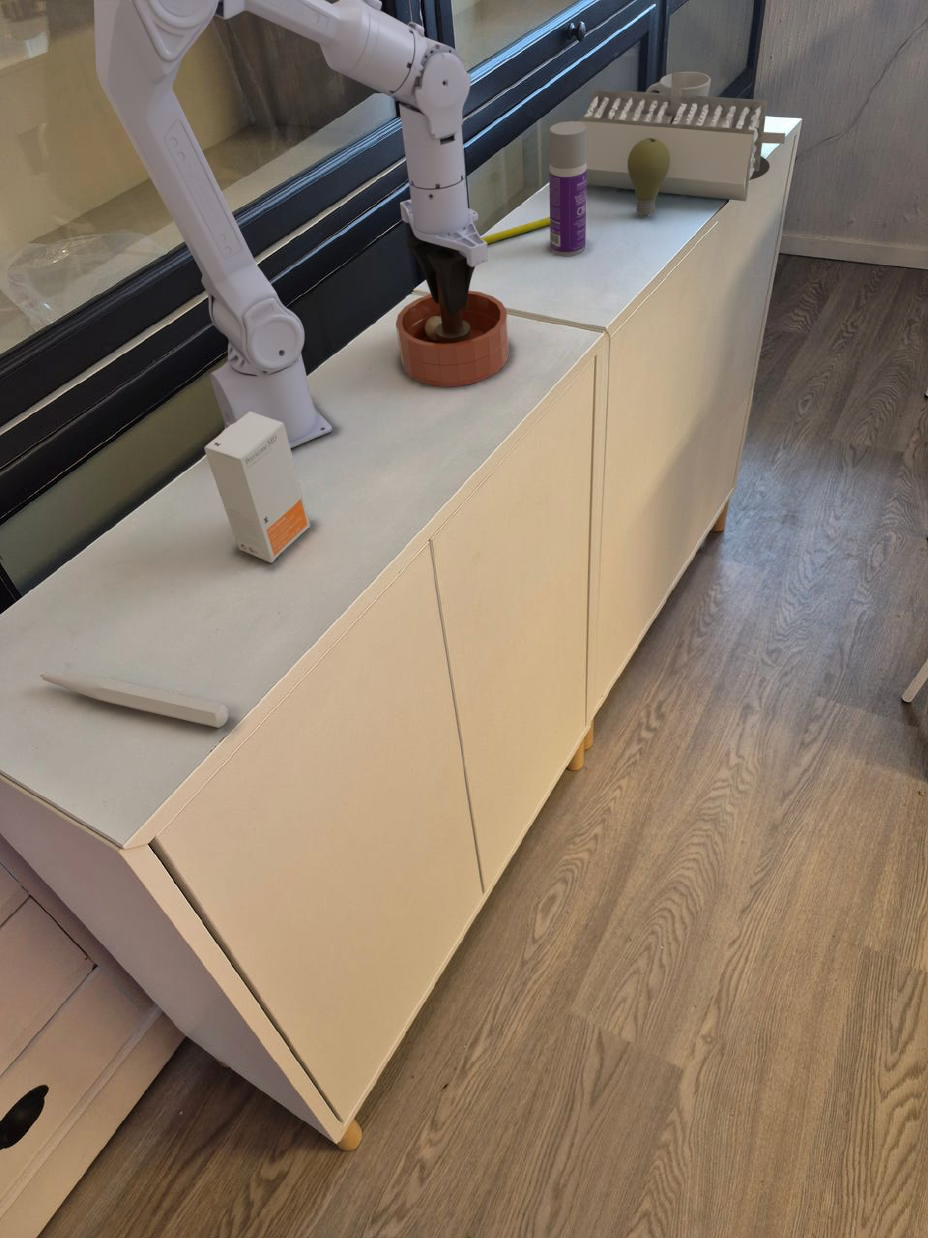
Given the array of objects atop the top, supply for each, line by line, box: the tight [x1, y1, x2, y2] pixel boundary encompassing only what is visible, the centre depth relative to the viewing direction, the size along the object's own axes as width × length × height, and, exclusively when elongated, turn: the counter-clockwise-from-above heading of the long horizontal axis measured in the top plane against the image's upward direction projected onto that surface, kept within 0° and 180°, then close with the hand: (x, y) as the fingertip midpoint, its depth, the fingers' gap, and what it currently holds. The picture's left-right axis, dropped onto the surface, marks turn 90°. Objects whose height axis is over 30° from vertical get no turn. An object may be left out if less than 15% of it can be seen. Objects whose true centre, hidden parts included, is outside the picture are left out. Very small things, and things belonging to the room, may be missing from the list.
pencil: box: [481, 216, 550, 245], centre depth 124 cm, size 16×1×1 cm
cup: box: [645, 71, 712, 97], centre depth 139 cm, size 8×10×8 cm
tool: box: [39, 671, 229, 729], centre depth 72 cm, size 17×2×2 cm
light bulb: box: [628, 138, 670, 218], centre depth 122 cm, size 6×6×10 cm
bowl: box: [395, 290, 510, 388], centre depth 103 cm, size 12×12×5 cm
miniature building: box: [575, 72, 787, 202], centre depth 124 cm, size 13×27×10 cm
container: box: [548, 120, 587, 257], centre depth 115 cm, size 5×5×15 cm
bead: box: [425, 316, 441, 341], centre depth 105 cm, size 3×3×3 cm
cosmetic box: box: [203, 412, 311, 564], centre depth 81 cm, size 6×4×12 cm
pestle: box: [435, 274, 471, 344], centre depth 100 cm, size 4×4×8 cm
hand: (450, 304), depth 100 cm, fingers closed on pestle, 2 cm apart
